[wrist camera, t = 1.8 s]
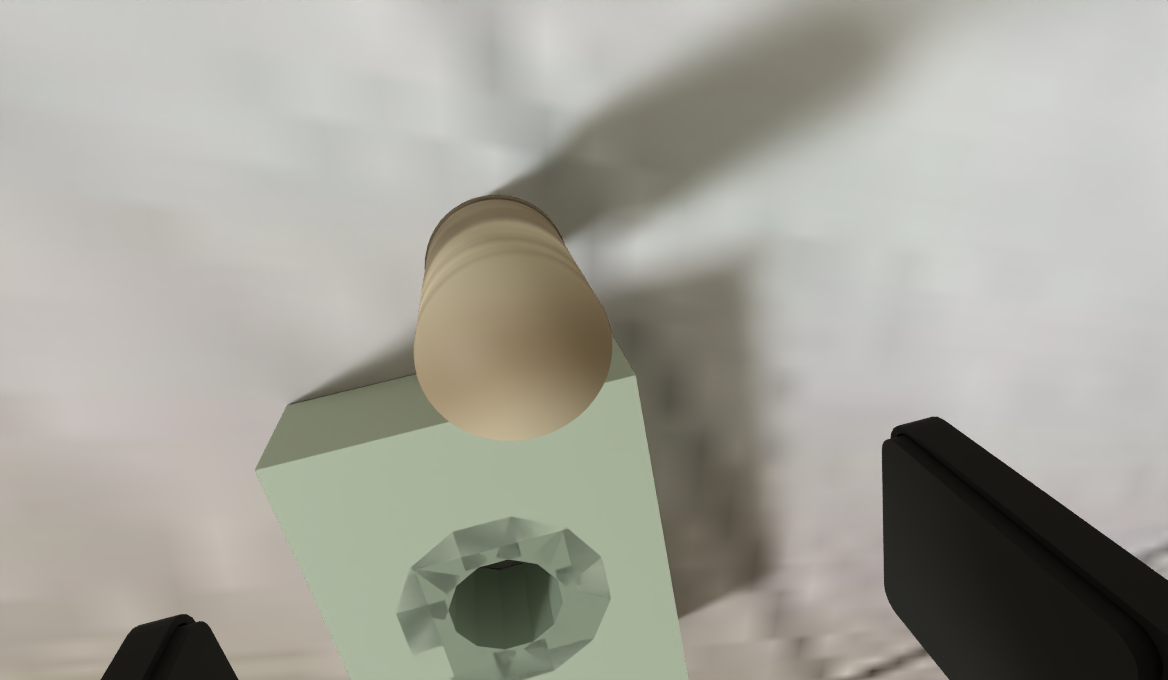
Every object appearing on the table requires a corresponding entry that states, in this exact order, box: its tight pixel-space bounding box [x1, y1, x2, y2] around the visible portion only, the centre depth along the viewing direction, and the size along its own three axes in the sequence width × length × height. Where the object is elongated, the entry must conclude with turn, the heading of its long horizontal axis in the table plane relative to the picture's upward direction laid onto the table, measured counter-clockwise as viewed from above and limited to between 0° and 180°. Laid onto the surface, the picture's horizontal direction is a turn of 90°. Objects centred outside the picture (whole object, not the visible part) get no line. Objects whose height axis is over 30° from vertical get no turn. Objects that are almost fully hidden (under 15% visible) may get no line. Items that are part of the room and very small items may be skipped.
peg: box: [414, 195, 612, 441], centre depth 22 cm, size 5×5×12 cm
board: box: [255, 335, 688, 680], centre depth 30 cm, size 18×14×5 cm
